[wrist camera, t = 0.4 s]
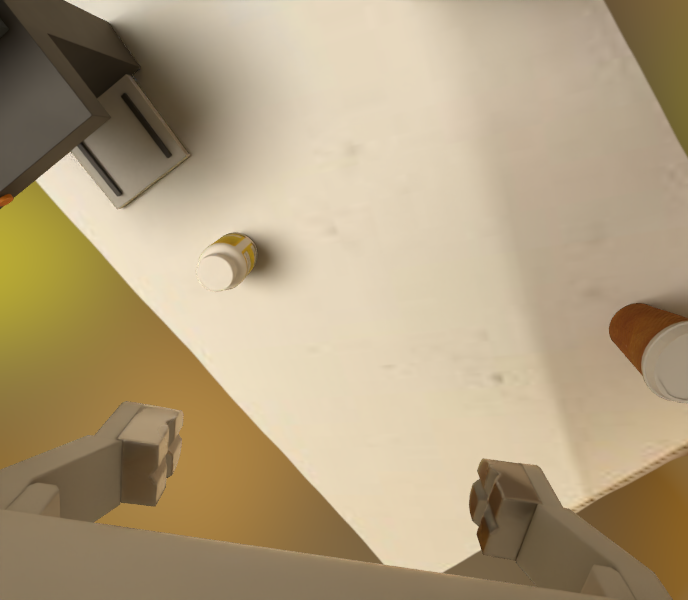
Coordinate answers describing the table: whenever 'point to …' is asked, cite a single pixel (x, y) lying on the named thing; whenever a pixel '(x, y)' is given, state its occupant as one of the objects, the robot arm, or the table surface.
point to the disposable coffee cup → (655, 347)
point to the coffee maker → (75, 103)
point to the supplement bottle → (226, 262)
